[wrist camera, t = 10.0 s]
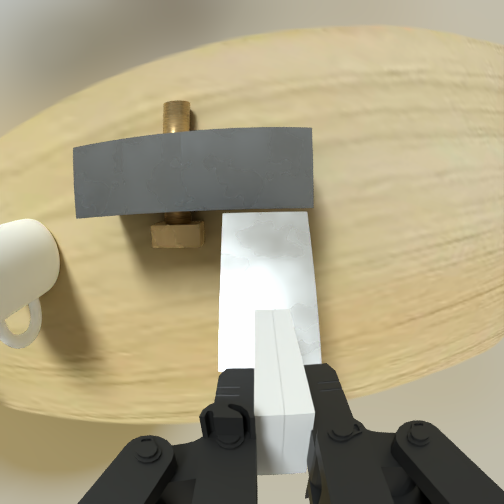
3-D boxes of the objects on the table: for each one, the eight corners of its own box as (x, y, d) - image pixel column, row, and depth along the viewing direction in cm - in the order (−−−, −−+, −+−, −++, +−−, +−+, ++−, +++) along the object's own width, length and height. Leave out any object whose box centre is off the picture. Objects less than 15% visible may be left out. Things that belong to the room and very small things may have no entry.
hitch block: (116, 208, 26) (76, 218, 19) (114, 153, 24) (73, 147, 18) (297, 200, 25) (313, 207, 19) (296, 141, 24) (311, 127, 17)
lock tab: (220, 372, 15) (218, 371, 14) (223, 219, 19) (222, 213, 18) (319, 368, 15) (321, 367, 14) (305, 218, 19) (307, 211, 18)
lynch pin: (204, 241, 26) (200, 247, 24) (160, 242, 26) (152, 248, 24) (202, 105, 24) (197, 98, 21) (157, 109, 24) (149, 103, 21)
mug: (81, 321, 28) (28, 372, 18) (31, 323, 29) (-21, 364, 19) (53, 210, 26) (-19, 227, 16) (4, 225, 26) (-60, 244, 16)
